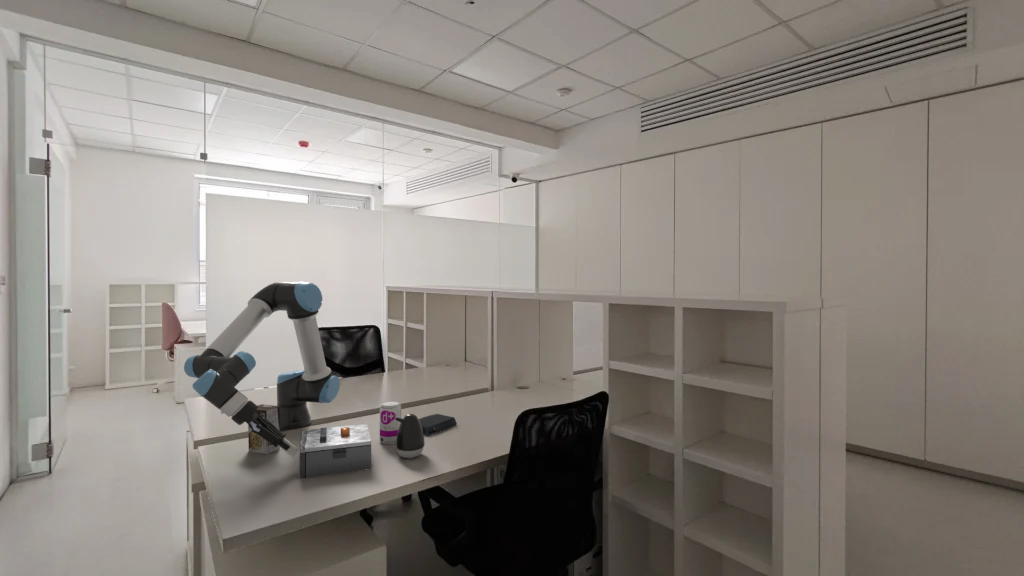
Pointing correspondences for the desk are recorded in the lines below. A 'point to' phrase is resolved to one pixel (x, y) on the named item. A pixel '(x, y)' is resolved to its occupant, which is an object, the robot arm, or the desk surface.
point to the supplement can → (389, 421)
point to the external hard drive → (436, 423)
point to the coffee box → (256, 441)
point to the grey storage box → (338, 460)
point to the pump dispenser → (409, 437)
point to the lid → (332, 440)
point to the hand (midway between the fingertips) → (296, 453)
